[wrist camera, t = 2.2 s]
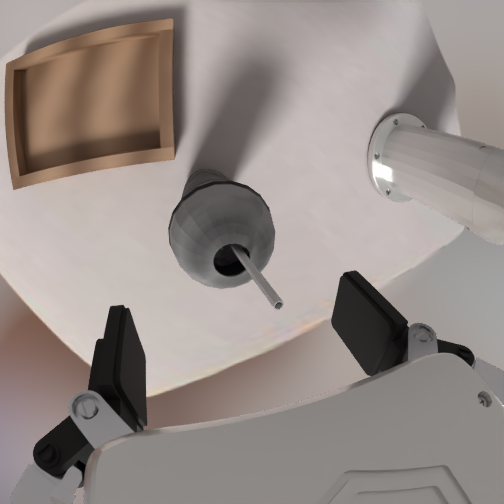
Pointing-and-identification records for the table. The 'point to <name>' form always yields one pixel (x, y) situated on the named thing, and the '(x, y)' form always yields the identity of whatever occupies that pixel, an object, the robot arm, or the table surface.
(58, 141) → the walnut tray
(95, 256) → the table surface
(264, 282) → the beverage cup
